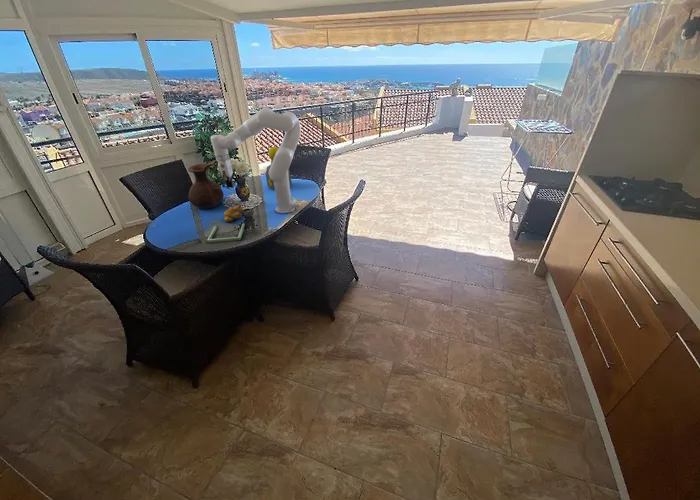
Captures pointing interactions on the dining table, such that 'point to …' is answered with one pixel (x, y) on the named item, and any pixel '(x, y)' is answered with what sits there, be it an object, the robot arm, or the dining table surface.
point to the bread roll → (233, 213)
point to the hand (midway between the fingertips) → (230, 186)
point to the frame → (224, 238)
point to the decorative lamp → (272, 154)
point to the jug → (204, 188)
